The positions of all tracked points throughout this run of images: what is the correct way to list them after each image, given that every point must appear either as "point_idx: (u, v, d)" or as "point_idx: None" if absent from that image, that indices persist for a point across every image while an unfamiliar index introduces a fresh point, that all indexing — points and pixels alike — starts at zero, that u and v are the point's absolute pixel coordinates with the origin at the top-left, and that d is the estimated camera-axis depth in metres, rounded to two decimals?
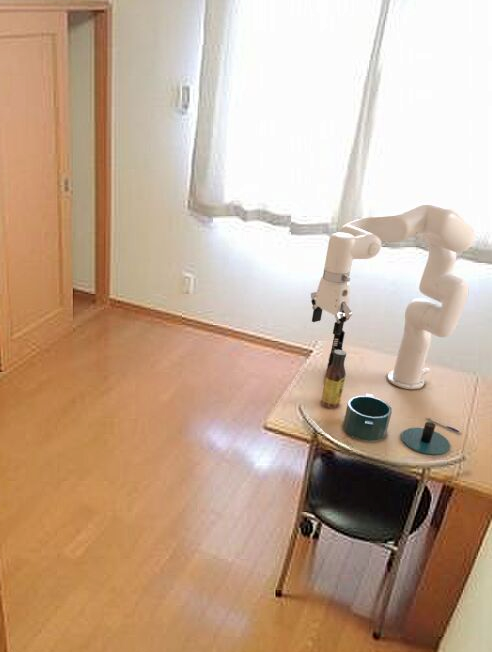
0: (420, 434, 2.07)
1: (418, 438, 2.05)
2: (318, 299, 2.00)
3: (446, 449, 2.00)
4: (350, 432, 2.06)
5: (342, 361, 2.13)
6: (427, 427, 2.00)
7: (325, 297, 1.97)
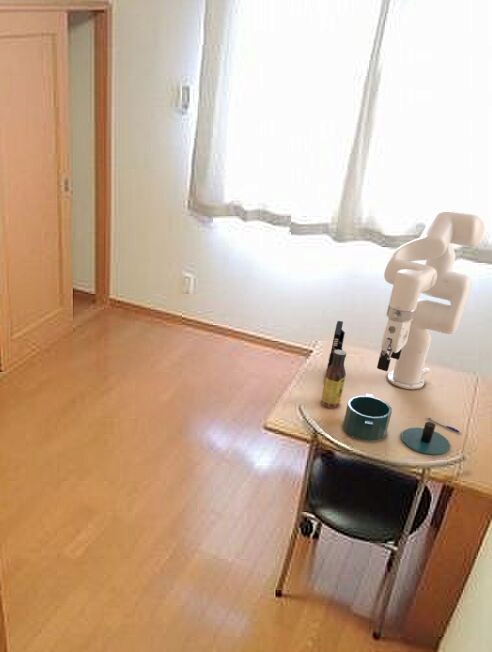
0: (420, 434, 2.07)
1: (418, 438, 2.05)
2: None
3: (446, 449, 2.00)
4: (350, 432, 2.06)
5: (342, 361, 2.13)
6: (427, 427, 2.00)
7: None
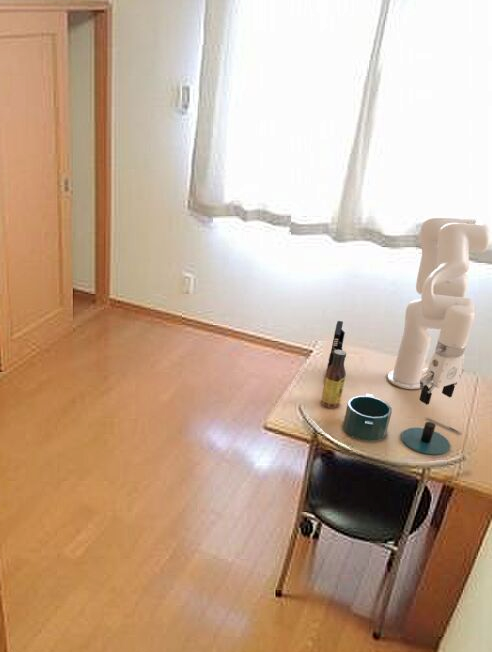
0: (420, 434, 2.07)
1: (418, 438, 2.05)
2: None
3: (446, 449, 2.00)
4: (350, 432, 2.06)
5: (342, 361, 2.13)
6: (427, 427, 2.00)
7: None
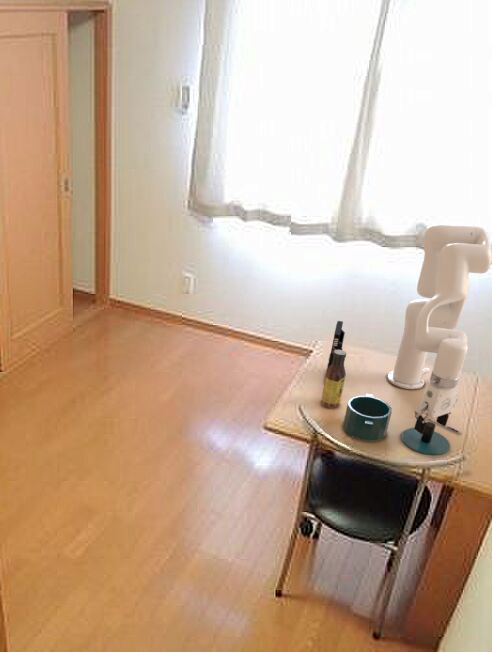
0: (420, 434, 2.07)
1: (418, 438, 2.05)
2: None
3: (446, 449, 2.00)
4: (350, 432, 2.06)
5: (342, 361, 2.13)
6: (427, 427, 2.00)
7: None
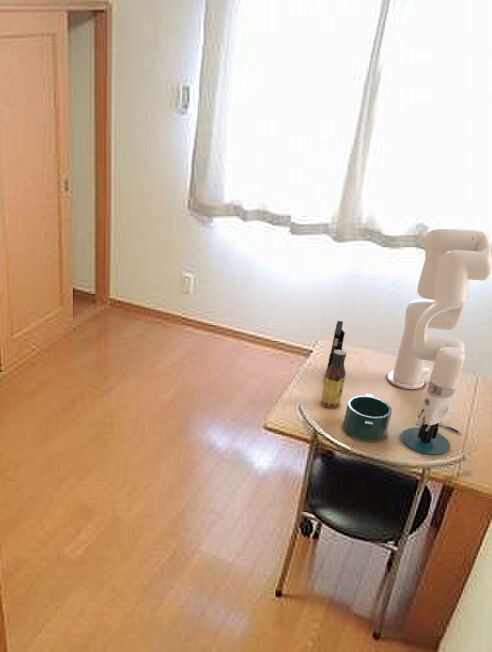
0: None
1: (418, 438, 2.05)
2: None
3: (446, 449, 2.00)
4: (350, 432, 2.06)
5: (342, 361, 2.13)
6: None
7: None
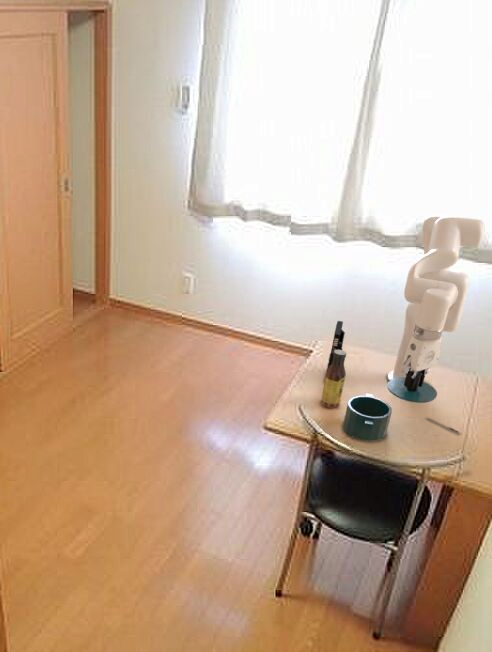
0: None
1: (404, 387, 1.98)
2: None
3: (433, 397, 1.94)
4: (350, 432, 2.06)
5: (342, 361, 2.13)
6: None
7: None
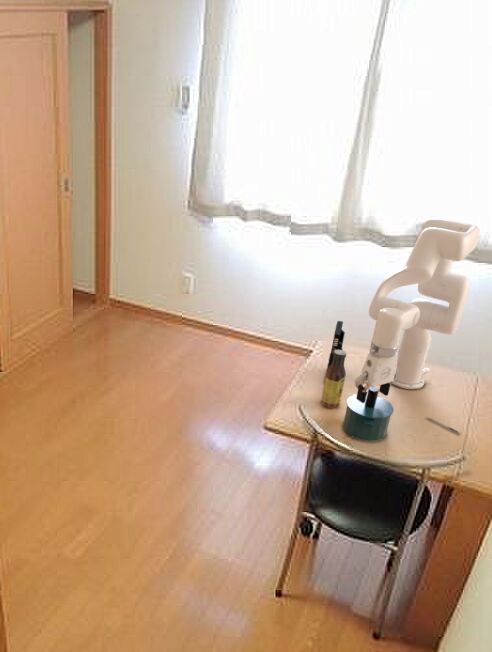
0: None
1: (362, 403, 2.06)
2: None
3: (389, 413, 2.01)
4: (350, 432, 2.06)
5: (342, 361, 2.13)
6: (370, 391, 2.01)
7: None
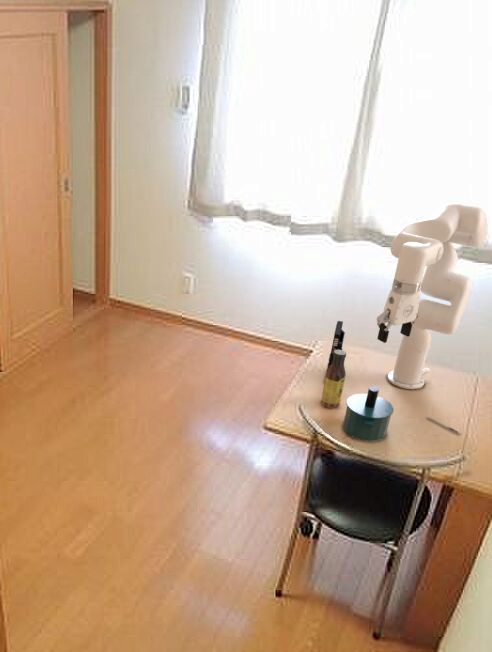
0: (365, 399, 2.08)
1: (362, 403, 2.06)
2: None
3: (389, 413, 2.01)
4: (350, 432, 2.06)
5: (342, 361, 2.13)
6: (370, 391, 2.01)
7: None
